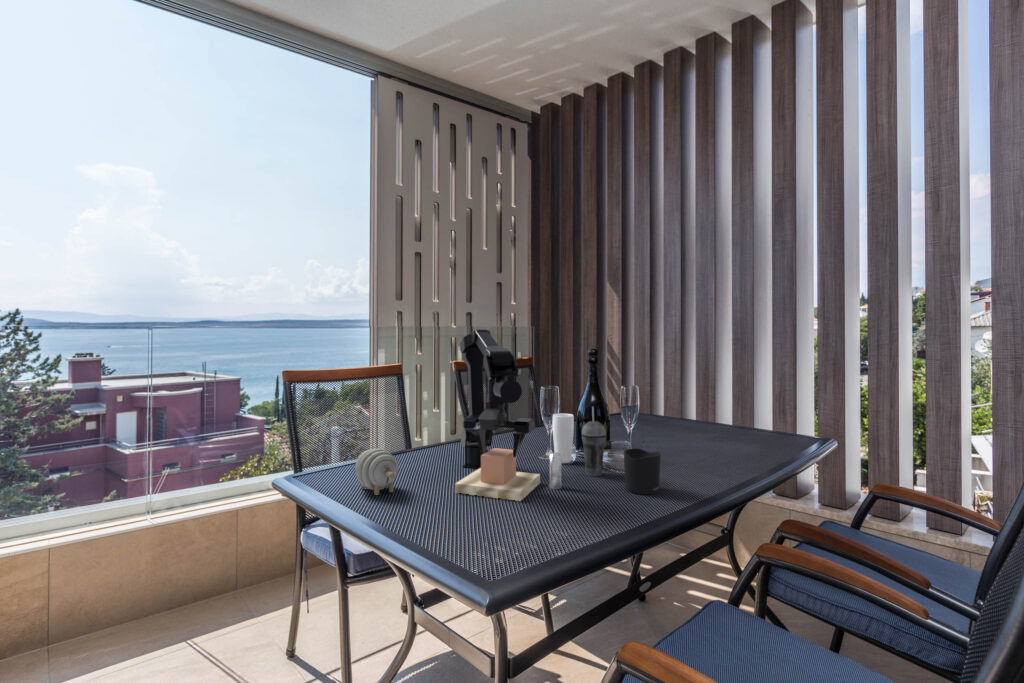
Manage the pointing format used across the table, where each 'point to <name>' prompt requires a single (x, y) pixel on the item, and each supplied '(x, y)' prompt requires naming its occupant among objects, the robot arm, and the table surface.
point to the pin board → (498, 486)
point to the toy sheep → (376, 470)
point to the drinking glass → (563, 435)
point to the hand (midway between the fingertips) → (498, 455)
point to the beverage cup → (593, 446)
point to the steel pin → (555, 470)
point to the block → (498, 466)
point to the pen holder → (641, 471)
